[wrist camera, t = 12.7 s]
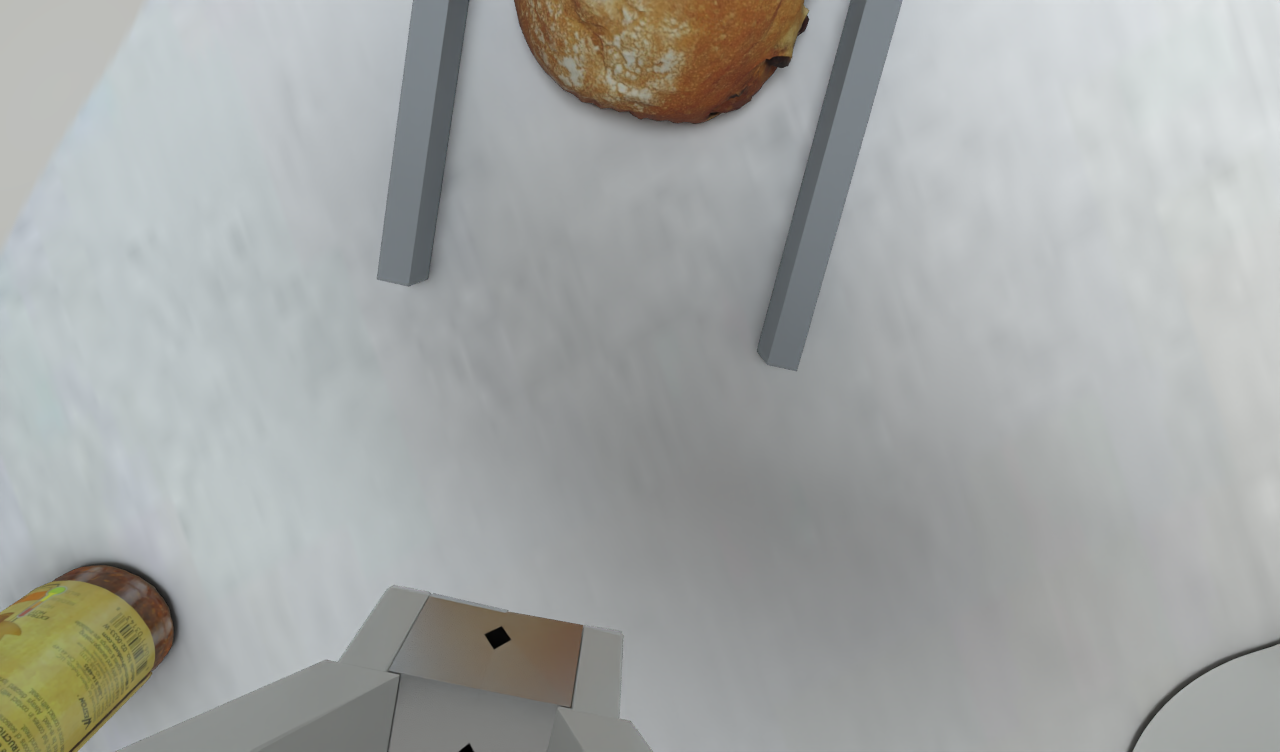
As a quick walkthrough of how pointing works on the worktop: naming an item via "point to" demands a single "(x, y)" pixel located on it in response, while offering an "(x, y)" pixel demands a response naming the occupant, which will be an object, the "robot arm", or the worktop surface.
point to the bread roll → (662, 51)
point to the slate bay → (817, 205)
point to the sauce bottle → (77, 656)
